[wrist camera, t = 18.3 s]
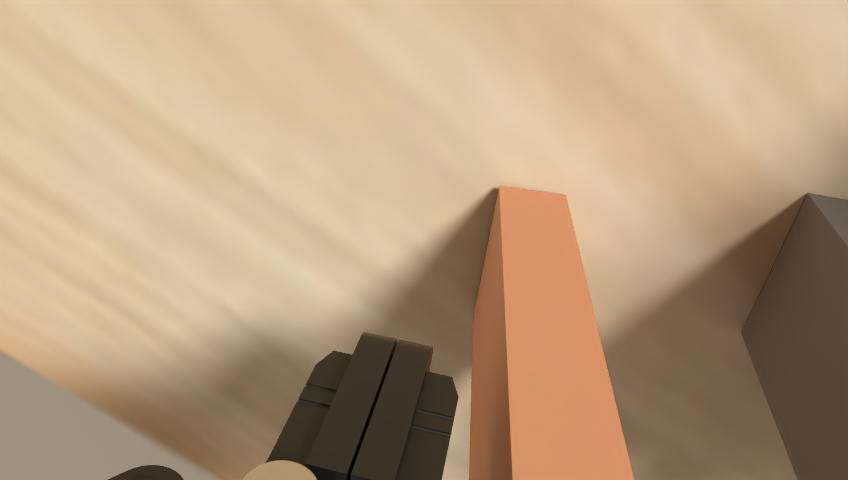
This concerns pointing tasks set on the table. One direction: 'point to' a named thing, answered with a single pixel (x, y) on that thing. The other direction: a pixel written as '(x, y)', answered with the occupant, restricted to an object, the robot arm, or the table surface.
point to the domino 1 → (539, 354)
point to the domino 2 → (807, 340)
